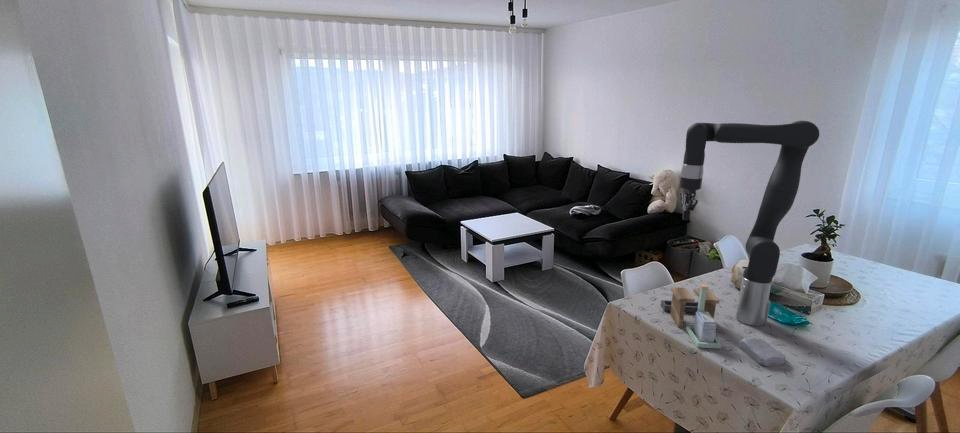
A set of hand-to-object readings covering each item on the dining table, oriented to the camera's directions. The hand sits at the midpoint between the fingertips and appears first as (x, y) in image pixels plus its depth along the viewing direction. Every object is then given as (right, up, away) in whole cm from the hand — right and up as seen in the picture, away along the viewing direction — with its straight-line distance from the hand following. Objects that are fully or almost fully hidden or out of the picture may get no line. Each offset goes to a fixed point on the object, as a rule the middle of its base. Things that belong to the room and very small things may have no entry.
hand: (685, 219), depth 171 cm
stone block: (+13, -45, -26) cm, 54 cm away
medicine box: (-2, -42, -16) cm, 45 cm away
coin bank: (+40, -30, +27) cm, 57 cm away
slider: (-2, -42, -17) cm, 46 cm away
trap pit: (+1, -36, +5) cm, 37 cm away
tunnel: (0, -39, -5) cm, 39 cm away
